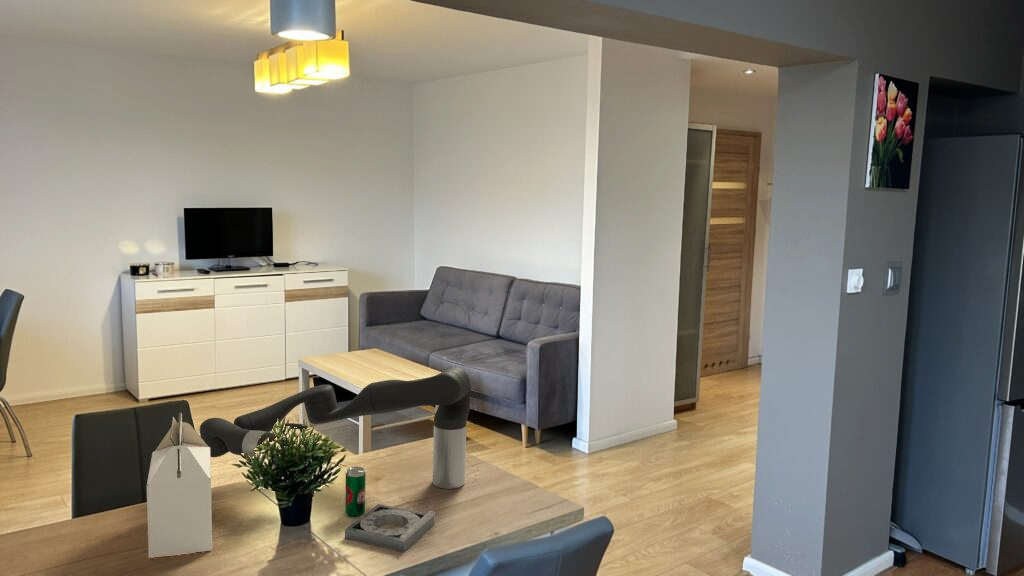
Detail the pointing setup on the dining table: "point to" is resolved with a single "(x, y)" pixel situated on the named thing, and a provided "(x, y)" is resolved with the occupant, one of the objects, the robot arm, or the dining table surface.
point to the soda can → (355, 491)
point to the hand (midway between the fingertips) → (316, 454)
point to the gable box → (179, 493)
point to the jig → (390, 539)
